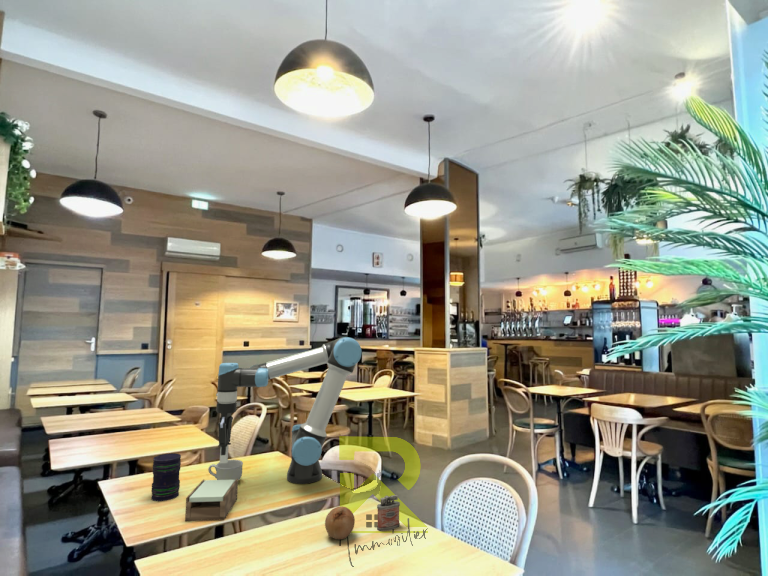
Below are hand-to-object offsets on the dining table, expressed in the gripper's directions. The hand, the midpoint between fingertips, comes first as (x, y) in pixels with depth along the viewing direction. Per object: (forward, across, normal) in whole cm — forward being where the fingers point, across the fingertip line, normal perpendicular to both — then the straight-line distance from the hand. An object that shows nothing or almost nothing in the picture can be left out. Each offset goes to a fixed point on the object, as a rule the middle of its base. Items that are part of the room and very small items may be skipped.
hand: (223, 462), depth 172 cm
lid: (+6, +14, 0) cm, 15 cm away
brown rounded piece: (+12, +38, +47) cm, 61 cm away
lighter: (+12, +33, +63) cm, 72 cm away
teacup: (+13, -14, -2) cm, 19 cm away
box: (+12, +14, +1) cm, 19 cm away
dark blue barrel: (+13, 0, -21) cm, 25 cm away
